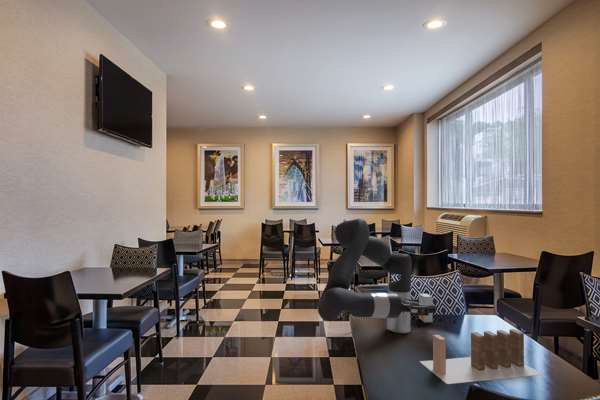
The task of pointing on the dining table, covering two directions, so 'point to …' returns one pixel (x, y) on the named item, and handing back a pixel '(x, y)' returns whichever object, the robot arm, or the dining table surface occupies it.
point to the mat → (477, 371)
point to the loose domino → (439, 354)
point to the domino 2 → (491, 349)
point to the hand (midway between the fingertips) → (426, 305)
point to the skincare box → (425, 300)
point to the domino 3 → (504, 348)
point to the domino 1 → (477, 351)
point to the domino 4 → (517, 347)
